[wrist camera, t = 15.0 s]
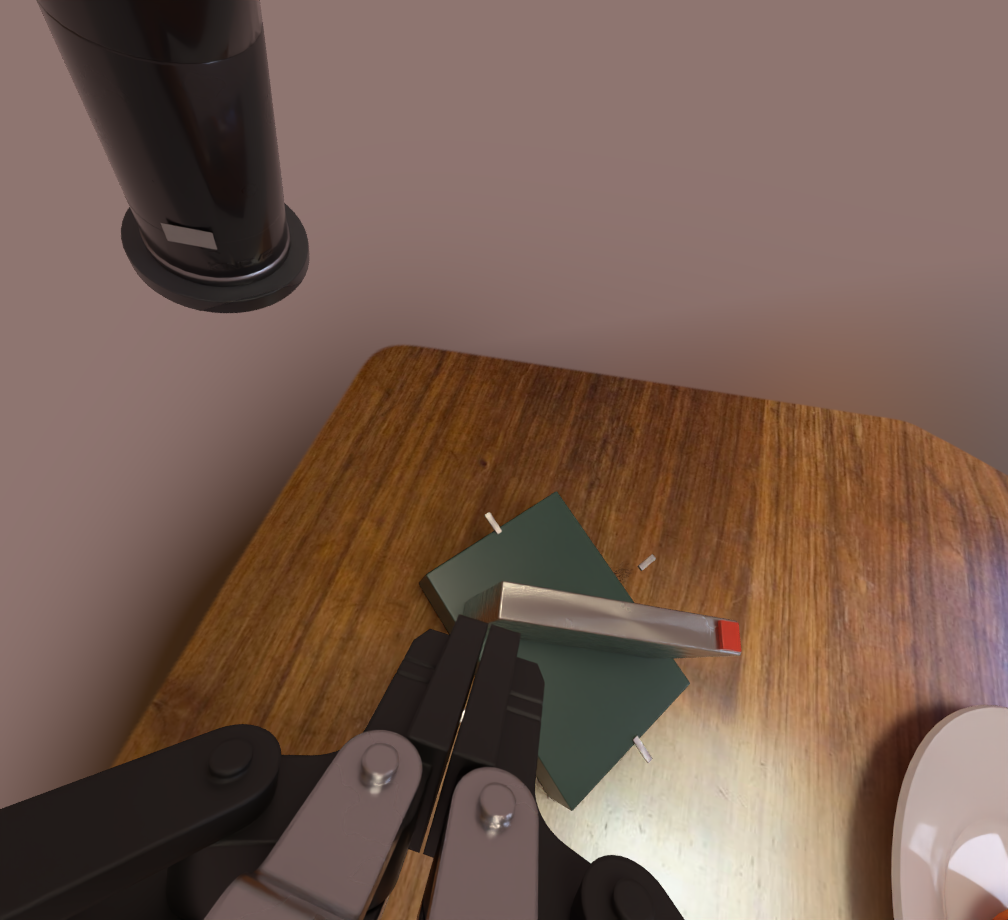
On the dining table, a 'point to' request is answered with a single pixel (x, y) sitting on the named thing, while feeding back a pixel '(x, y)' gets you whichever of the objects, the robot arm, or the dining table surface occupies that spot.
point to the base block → (566, 670)
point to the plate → (954, 821)
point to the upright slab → (603, 623)
